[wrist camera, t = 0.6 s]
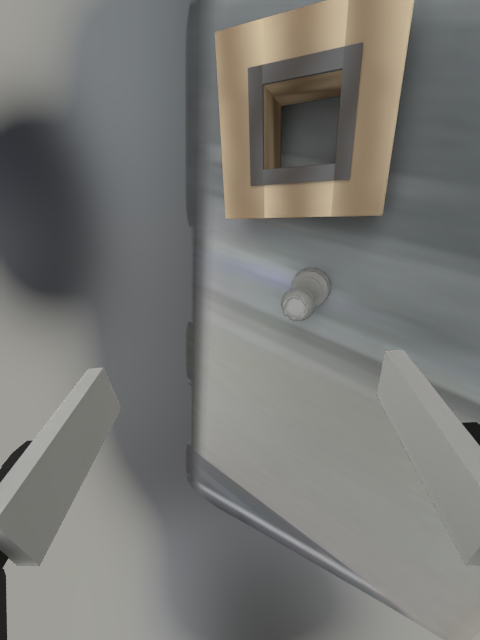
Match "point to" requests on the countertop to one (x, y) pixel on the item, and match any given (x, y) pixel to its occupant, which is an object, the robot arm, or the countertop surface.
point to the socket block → (307, 85)
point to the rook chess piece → (305, 294)
